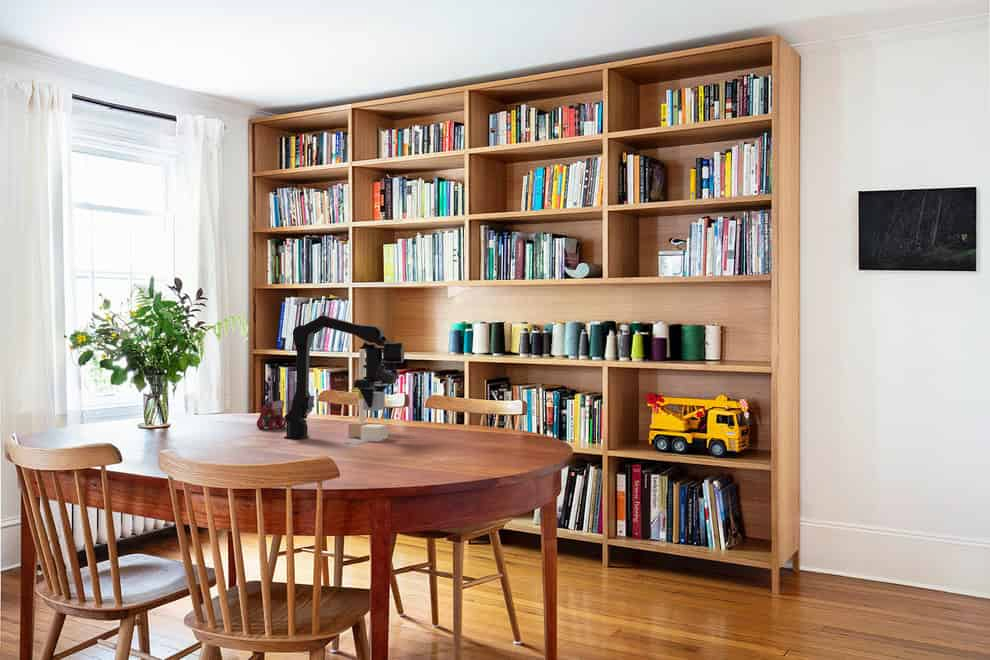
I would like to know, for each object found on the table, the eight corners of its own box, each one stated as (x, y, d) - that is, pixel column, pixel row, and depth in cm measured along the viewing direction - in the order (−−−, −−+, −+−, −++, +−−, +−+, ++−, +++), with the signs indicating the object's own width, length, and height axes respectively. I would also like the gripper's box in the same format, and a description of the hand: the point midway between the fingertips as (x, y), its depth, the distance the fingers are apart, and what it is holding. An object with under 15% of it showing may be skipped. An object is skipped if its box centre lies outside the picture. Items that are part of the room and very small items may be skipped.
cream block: (360, 441, 304) (360, 426, 304) (368, 438, 311) (368, 424, 311) (379, 442, 302) (379, 427, 302) (387, 439, 309) (387, 424, 309)
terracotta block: (348, 437, 311) (348, 423, 311) (351, 435, 316) (351, 421, 316) (362, 437, 311) (362, 423, 311) (365, 435, 316) (365, 421, 316)
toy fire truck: (252, 429, 329) (252, 402, 329) (275, 425, 340) (275, 398, 340) (267, 431, 326) (267, 403, 325) (289, 426, 337) (289, 399, 336)
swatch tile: (341, 443, 298) (341, 442, 298) (351, 440, 305) (351, 439, 305) (359, 444, 296) (359, 443, 296) (368, 441, 302) (368, 440, 302)
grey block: (377, 410, 303) (377, 393, 303) (363, 410, 305) (363, 392, 305) (384, 408, 308) (384, 391, 308) (370, 408, 310) (370, 391, 310)
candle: (363, 433, 321) (363, 344, 320) (342, 431, 326) (342, 343, 325) (381, 430, 329) (381, 343, 328) (360, 428, 334) (360, 342, 333)
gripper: (382, 364, 294) (382, 410, 295) (406, 361, 312) (406, 404, 312) (352, 363, 298) (352, 409, 299) (378, 360, 316) (378, 403, 316)
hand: (373, 406), depth 306 cm, fingers closed on grey block, 5 cm apart
